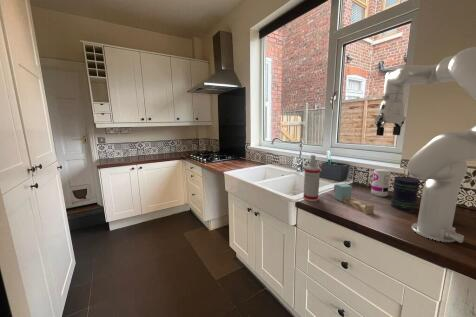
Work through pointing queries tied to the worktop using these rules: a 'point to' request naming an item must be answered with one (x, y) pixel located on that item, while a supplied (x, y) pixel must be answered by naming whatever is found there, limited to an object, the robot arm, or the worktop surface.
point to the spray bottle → (311, 180)
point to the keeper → (342, 191)
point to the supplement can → (380, 182)
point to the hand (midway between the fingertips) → (388, 135)
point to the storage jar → (405, 193)
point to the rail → (357, 204)
